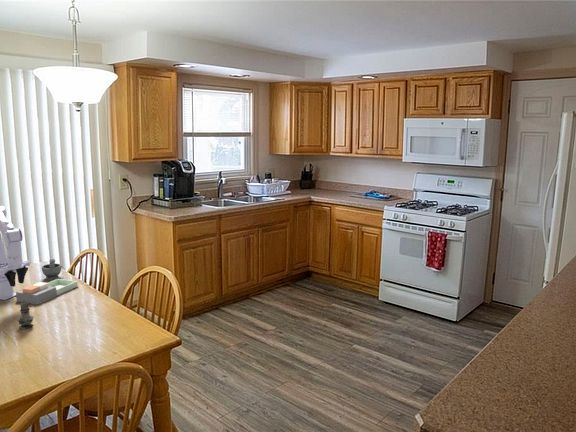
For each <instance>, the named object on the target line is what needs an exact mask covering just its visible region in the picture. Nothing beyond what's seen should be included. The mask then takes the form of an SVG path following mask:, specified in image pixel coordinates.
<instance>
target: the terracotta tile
mask: <svg viewBox="0 0 576 432" xmlns="http://www.w3.org/2000/svg"><path fill="white" fill-rule="evenodd" d="M21 290H23V293H28V294H33V293H35V292H38V291H40V289H39V287H38V286H32V285H29V286H26V287H24V288H21Z"/></svg>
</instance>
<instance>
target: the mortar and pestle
mask: <svg viewBox="0 0 576 432" xmlns="http://www.w3.org/2000/svg"><path fill="white" fill-rule="evenodd" d="M55 262H56V260H55V259H54V258H50V259H49V263H47V264H44V265H42V266H41V271H42V274H43V275H44V276H45V279H46V280H48V281H54V280H56V279H60V278H59V275H60V274H61V272H62V264H61V263H55ZM53 279H54V280H53Z"/></svg>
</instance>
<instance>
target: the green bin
mask: <svg viewBox="0 0 576 432" xmlns="http://www.w3.org/2000/svg"><path fill="white" fill-rule="evenodd" d="M47 283H48V286H51V287H56V296H55V297H57V296H60V295H63V294H64V293H66V292H67V293H68V292H70V291H72V290H74V289H76V288H78V287H79V286H78V281H77V280H70V279H63V278H57V279H54V280H50V281H49V282H47ZM73 288H74V289H73Z"/></svg>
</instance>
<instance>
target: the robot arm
mask: <svg viewBox="0 0 576 432" xmlns="http://www.w3.org/2000/svg"><path fill="white" fill-rule="evenodd" d="M2 236H3V237H2ZM2 238H3V239H2ZM22 241H23V232H22V230H21V228H16V227H15V225H14V224H13V222H12V221H10V220H8V219H7V209H6V207H5V206H4V205H0V300H3V301H5V300H8V299H11V298H13V297H16V292H15V291H14V287H16V276H17V281H18V284H24V283H25V278H26V275H27V273H28V271H29V268H28V267H29V266H31V262H30V260H24V261H23V253H22ZM3 242H4V243H3ZM4 246H5V247H4ZM5 248H6V250H5Z"/></svg>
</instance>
